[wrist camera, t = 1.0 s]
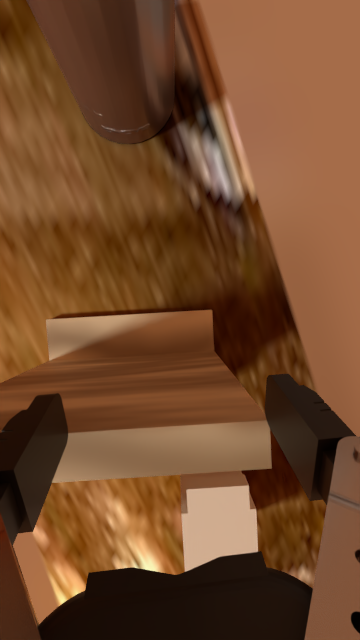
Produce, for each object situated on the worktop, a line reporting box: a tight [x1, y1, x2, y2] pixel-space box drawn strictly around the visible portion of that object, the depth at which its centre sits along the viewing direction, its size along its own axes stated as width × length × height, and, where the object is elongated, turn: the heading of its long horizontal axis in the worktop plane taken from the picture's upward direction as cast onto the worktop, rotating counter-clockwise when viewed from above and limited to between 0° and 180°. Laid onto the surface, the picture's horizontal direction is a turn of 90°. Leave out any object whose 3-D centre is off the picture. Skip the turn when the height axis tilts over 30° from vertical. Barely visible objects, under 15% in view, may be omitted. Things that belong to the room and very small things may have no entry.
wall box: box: [180, 471, 258, 572], centre depth 27 cm, size 9×6×7 cm
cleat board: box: [0, 310, 272, 483], centre depth 21 cm, size 8×16×18 cm, turn 93°
